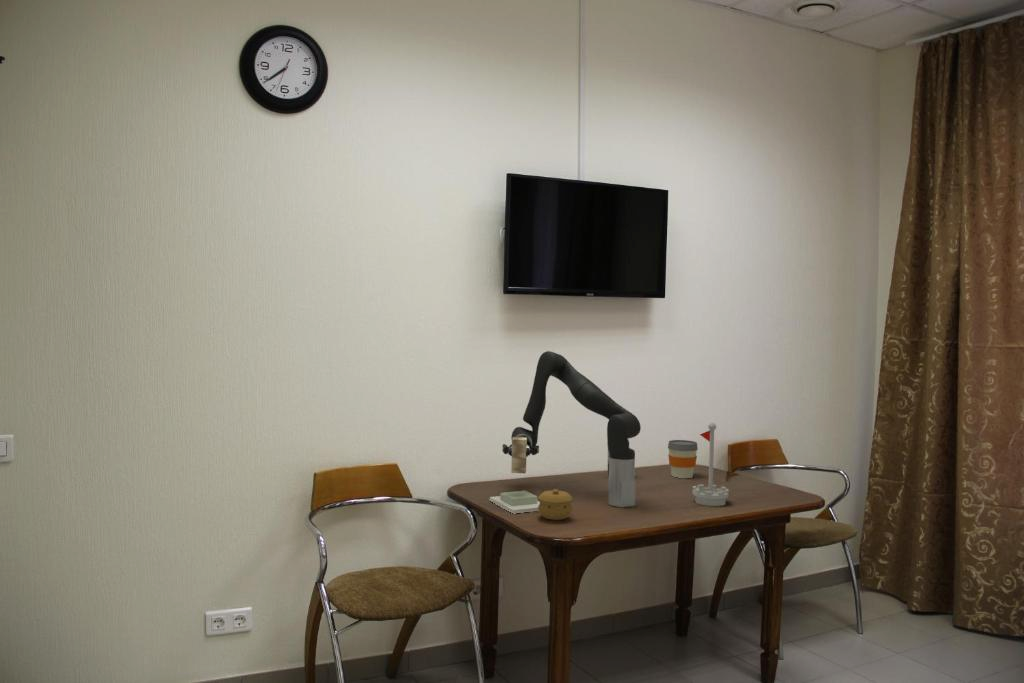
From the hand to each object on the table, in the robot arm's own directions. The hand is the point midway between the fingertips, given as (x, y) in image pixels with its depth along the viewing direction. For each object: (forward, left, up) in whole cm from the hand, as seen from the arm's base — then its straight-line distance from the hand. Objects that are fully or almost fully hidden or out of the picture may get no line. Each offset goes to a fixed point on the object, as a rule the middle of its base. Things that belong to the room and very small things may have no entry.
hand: (518, 453), depth 274 cm
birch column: (+2, -1, -7) cm, 7 cm away
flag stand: (-20, -70, -20) cm, 76 cm away
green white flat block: (+2, -1, -19) cm, 20 cm away
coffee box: (+30, -62, -20) cm, 72 cm away
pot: (-18, -5, -20) cm, 27 cm away
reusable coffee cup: (+21, -89, -20) cm, 94 cm away
